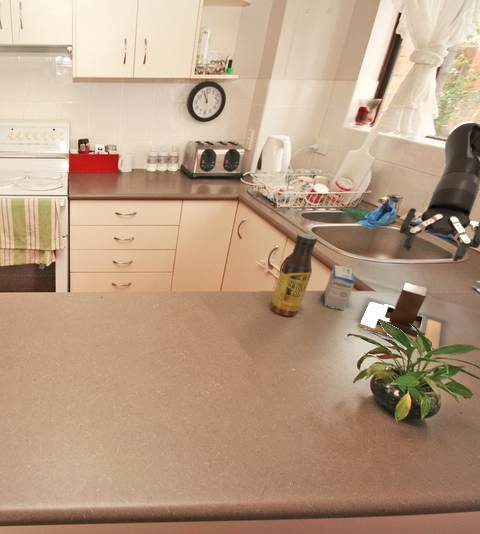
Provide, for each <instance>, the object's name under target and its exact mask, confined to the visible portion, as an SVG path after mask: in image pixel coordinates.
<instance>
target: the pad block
mask: <svg viewBox="0 0 480 534" xmlns="http://www.w3.org/2000/svg"><path fill="white" fill-rule="evenodd" d="M427 292H428V288H427V287H424V286H420V285H416V284H412V283H408V282H404V284H403V287H402V288H401V292H400V293H399V296H398V298H397V300H396V303H395V306H393V307H394V310H393V312H392V314H391V317H390V320H389V321H392V322H395V323H399V324H402V325H405V326H408V327H412V326H411V325H410V324H409V323H411V324H413V323H414V320H415V318H416V316H417V314H419V312H420V310H421V308H422V306H423V304H424V301H425V299H426V297H427Z"/></svg>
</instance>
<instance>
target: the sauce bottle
mask: <svg viewBox="0 0 480 534" xmlns="http://www.w3.org/2000/svg"><path fill="white" fill-rule="evenodd" d="M295 240H296V242H295V245H294V247H293V250H292V253H290V254H289V255H288V256H287V257H286V258H285V259H284V261H283V264H282V267H281V269H280V271H279V276H278V279H277V281H276V285H275V287H274V291H273V294H272V298H271V303H270V309H271V311H273V312H274V313H275V314H278V315H280V316H283V317H294V316H296V314H297V313H298V311H299V310H300V308H301V305H302V301H303V299H304V296H305V293H306V291H307V288H308V284H309V281H310V280H311V276H312V272H313V271H312V256H313V255H312V254H313V251H314V247H315V245H316V244H317V242H318V236H316V235H314V234H311V233H308V232H307V233H306V232H298V233H297V236H296V237H295Z"/></svg>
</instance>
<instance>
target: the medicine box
mask: <svg viewBox="0 0 480 534" xmlns="http://www.w3.org/2000/svg"><path fill="white" fill-rule="evenodd" d="M355 283H356V282H355V275H354V269H353V268H350V267H346V266H341V265H336V264H335V265H333V267H332V270H331V273H330V275H329V278H328V281H327V284H326V286H325V289H324V292H323V306H324V305H326V306H330V307H334V308H337V309H336V310H338V309H341V310H340V311H345V308H346V306H347V304H348V301H349V299H350V297H351V294H352V291H353V288H354V285H355ZM326 306H325V307H326ZM330 307H329V308H330ZM334 308H333V309H334Z"/></svg>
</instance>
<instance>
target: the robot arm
mask: <svg viewBox="0 0 480 534" xmlns="http://www.w3.org/2000/svg"><path fill="white" fill-rule="evenodd" d="M444 155H445V157H444V159H445V161H444V162H445V167H444V169H443V171H442V175H441V177H440V179H439V181H438V182H437V184H436V186H435V188H434V191H433V192H432V196H431V199H430V201H429V203H428V206H427V208H426V210H425V211H424V212H423V211H418V210H417V209H416V208H414V207H413V208H410V209H409V210H408V212H407V213H406V216H405V218H404V220H403V222H402V224H401V226H400V228H399V233H400V234H404V235H405V236H406V237H405V241H404V243H403V248H405V251H408V252H410V250H411V249H412V246H413V243H414V240H415V239H416V236H419V235H422V234H424V233H426V232H428V231H429V232H430V233H432V234H439V235H442V236H446V237H447V236H451V238H452V239H453V240H454V241H455V242H456V244H458V246H457V249H456V251H455V254H454V256H453V259H452V261H453V262H458V261H461V260H463V259H464V257H465V256H466V252H467V250H468V248H472V249H478V248H479V247H480V221H478V220H477V221H476V220H471V219H470V215H471V212H472V211H473V210H472V209H473V207H474V204H475V202H476V199H477V197H478V194H479V191H480V123H477V122H474V121H466V122H462V123H460V124H457V126H455V127H454V128H453V129H452V130H450V132H449V133H448V136H447V137H446V140H445V143H444ZM419 218H420V219H421V222H420V223H419V224H417V225H416V226H414V227H412V228H411V227H410V225H411V223H412V221H413V222H414V221H416V220H418V219H419ZM468 227H470V228H471V231H472V232H474V233H473V238H472V239H471V238H469V236H468V234H467V231H466V228H468Z"/></svg>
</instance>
